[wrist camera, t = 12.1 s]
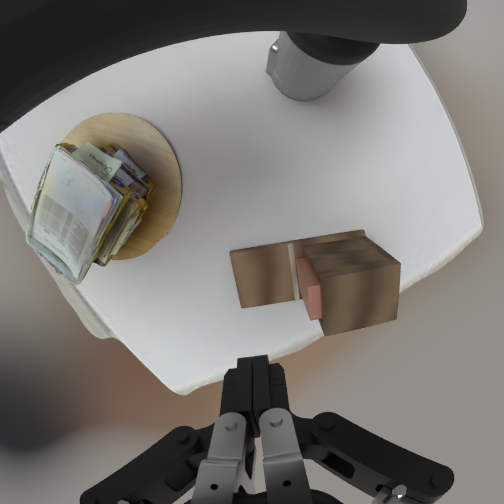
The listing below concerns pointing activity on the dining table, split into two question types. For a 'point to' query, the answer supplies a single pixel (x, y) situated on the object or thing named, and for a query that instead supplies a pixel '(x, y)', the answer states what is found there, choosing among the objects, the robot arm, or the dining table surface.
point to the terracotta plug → (309, 288)
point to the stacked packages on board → (104, 195)
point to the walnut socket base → (271, 270)
